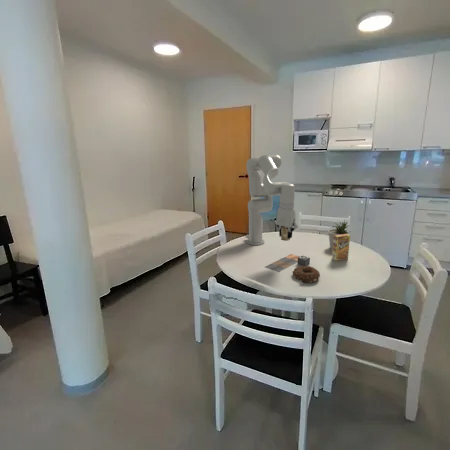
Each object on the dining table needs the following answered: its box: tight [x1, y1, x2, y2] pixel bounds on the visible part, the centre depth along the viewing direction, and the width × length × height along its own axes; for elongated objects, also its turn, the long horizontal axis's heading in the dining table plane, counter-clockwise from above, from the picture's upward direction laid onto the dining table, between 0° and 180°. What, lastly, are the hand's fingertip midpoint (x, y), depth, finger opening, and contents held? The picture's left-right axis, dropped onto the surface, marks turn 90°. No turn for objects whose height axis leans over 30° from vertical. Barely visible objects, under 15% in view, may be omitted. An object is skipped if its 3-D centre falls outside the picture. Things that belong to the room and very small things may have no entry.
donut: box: [292, 265, 321, 283], centre depth 155 cm, size 14×14×5 cm
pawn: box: [280, 226, 291, 241], centre depth 168 cm, size 5×5×10 cm
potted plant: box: [327, 219, 352, 250], centre depth 195 cm, size 13×14×20 cm
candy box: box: [331, 234, 351, 261], centre depth 178 cm, size 9×4×15 cm, turn 107°
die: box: [297, 255, 311, 266], centre depth 171 cm, size 5×5×5 cm
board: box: [264, 253, 301, 273], centre depth 174 cm, size 10×28×1 cm, turn 135°
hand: (285, 236), depth 169 cm, fingers closed on pawn, 4 cm apart
